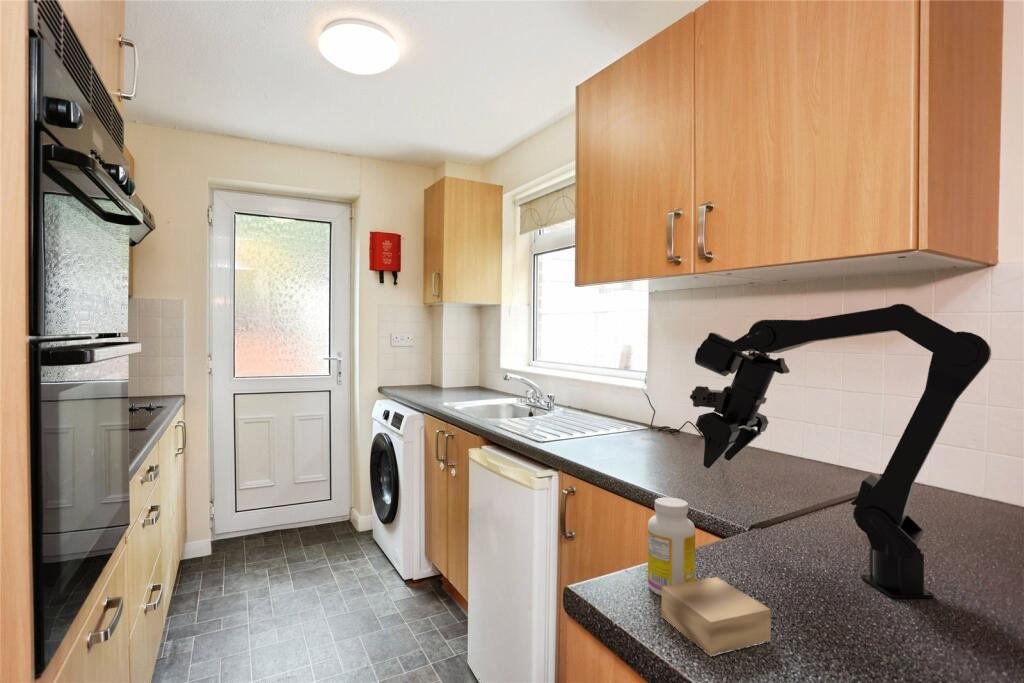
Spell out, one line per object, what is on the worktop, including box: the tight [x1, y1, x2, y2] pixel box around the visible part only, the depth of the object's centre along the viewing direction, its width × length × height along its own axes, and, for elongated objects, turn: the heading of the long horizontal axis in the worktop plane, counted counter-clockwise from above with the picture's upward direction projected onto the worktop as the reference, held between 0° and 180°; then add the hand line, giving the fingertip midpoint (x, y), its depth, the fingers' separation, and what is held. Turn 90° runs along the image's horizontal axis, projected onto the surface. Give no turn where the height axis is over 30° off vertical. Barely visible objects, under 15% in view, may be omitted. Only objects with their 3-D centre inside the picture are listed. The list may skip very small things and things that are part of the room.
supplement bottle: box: [647, 496, 696, 597], centre depth 74 cm, size 7×7×13 cm
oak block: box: [661, 576, 772, 655], centre depth 64 cm, size 9×9×4 cm
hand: (716, 463), depth 95 cm, fingers open, 9 cm apart
